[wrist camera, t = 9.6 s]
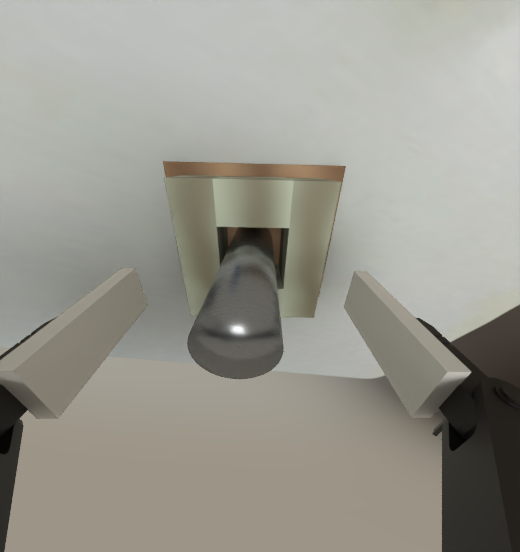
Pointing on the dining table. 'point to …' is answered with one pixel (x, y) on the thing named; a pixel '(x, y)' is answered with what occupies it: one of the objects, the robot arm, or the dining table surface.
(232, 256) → the peg
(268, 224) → the socket
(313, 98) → the dining table surface
